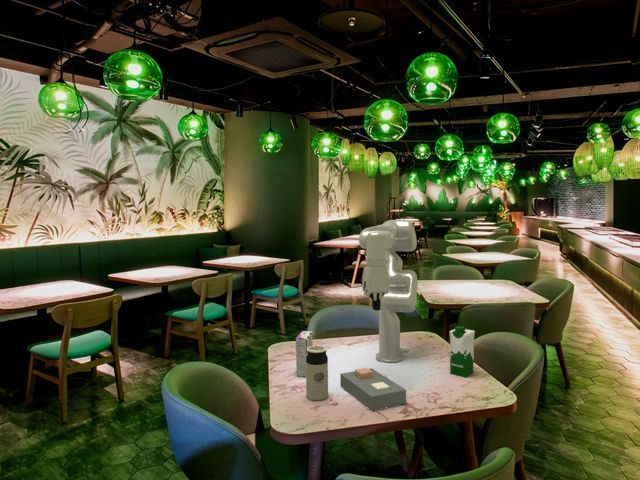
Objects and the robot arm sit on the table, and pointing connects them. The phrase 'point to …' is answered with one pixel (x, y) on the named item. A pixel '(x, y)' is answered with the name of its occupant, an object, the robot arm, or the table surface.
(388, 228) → the robot arm
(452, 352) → the milk carton
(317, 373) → the travel mug
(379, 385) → the cream cube
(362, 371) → the terracotta key
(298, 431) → the table surface
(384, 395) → the gray socket board
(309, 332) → the candy bar box
